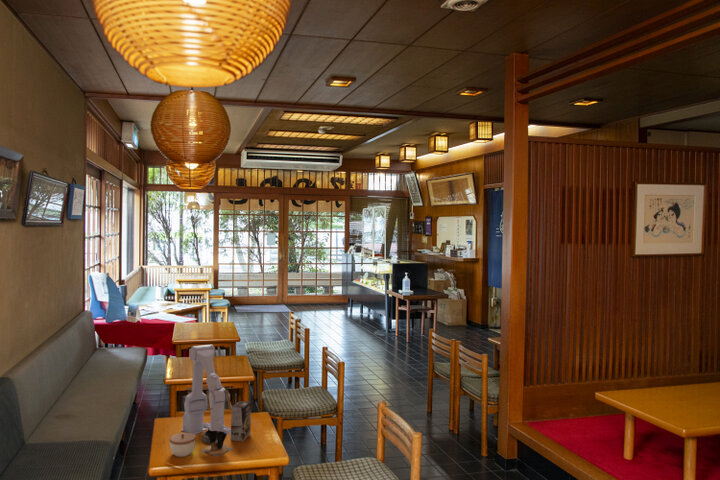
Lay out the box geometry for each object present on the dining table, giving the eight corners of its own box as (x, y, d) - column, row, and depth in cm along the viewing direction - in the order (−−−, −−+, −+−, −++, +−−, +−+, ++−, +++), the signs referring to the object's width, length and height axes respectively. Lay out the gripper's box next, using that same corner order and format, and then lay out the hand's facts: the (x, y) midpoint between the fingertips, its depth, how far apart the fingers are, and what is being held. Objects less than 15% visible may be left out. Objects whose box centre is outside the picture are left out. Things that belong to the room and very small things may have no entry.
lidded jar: (195, 458, 235) (195, 437, 234) (168, 461, 232) (169, 439, 231) (195, 448, 245) (195, 427, 245) (169, 451, 242) (170, 429, 242)
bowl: (197, 441, 253) (197, 435, 253) (212, 434, 261) (212, 428, 261) (212, 445, 248) (212, 439, 248) (227, 438, 257) (227, 432, 257)
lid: (199, 451, 241) (200, 442, 241) (216, 443, 250) (216, 435, 250) (217, 456, 236) (217, 448, 236) (233, 448, 245) (233, 440, 245)
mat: (199, 452, 241) (199, 451, 241) (216, 444, 250) (216, 443, 250) (217, 457, 236) (217, 456, 236) (233, 449, 245) (233, 448, 245)
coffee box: (243, 442, 253) (244, 407, 253) (230, 440, 255) (230, 406, 254) (251, 435, 262) (251, 401, 262) (238, 433, 263) (239, 400, 263)
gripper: (198, 416, 242) (197, 446, 243) (223, 422, 235) (222, 454, 236) (210, 411, 249) (209, 441, 249) (234, 417, 242) (234, 448, 242)
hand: (216, 447), depth 243 cm, fingers open, 3 cm apart
